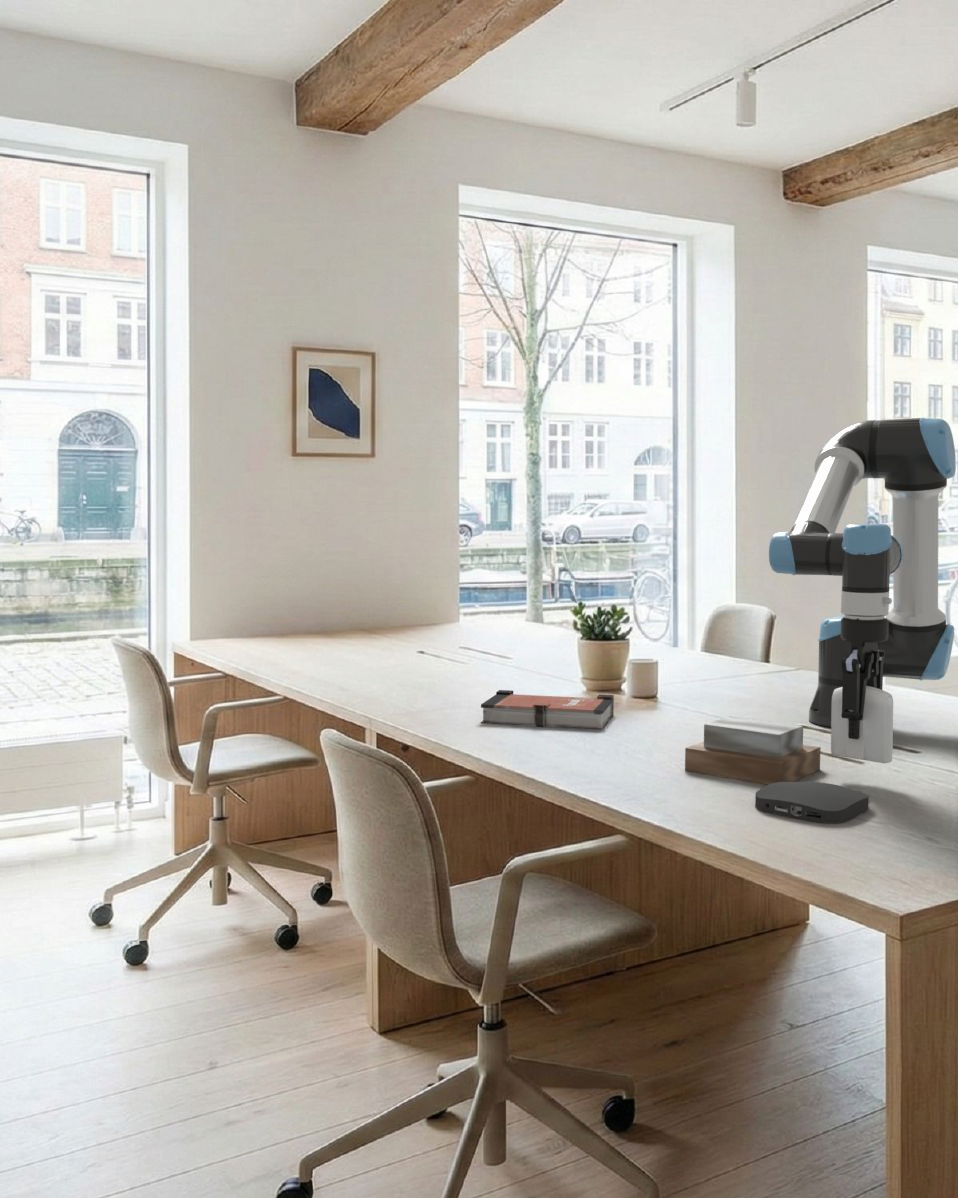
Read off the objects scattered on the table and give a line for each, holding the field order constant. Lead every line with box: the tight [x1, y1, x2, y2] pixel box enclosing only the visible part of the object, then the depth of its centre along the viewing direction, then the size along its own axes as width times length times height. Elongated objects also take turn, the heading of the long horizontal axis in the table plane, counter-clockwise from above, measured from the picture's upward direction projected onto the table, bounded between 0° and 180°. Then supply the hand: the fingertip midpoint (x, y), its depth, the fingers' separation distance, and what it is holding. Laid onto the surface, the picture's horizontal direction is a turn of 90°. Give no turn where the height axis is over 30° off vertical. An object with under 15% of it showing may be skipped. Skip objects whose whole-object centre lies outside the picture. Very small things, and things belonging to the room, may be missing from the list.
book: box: [480, 689, 615, 731], centre depth 242 cm, size 26×18×5 cm
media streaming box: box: [754, 781, 870, 824], centre depth 171 cm, size 15×15×3 cm
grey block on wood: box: [684, 715, 822, 785], centre depth 196 cm, size 16×18×8 cm
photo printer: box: [830, 686, 894, 764], centre depth 186 cm, size 10×4×12 cm, turn 47°
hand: (861, 754), depth 187 cm, fingers closed on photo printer, 4 cm apart
